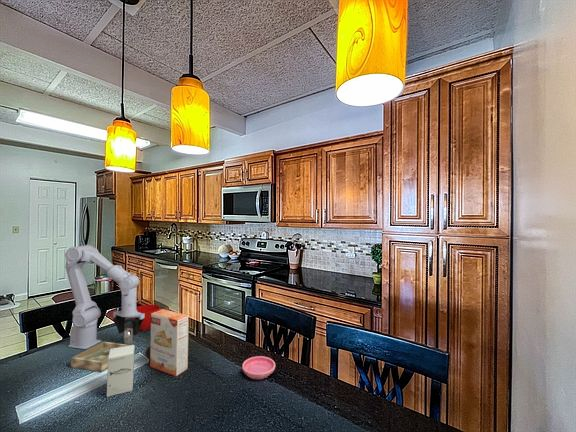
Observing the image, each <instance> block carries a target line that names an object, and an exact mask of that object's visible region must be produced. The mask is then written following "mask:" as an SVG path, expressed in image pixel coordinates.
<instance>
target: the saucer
mask: <svg viewBox="0 0 576 432" xmlns="http://www.w3.org/2000/svg"><path fill="white" fill-rule="evenodd" d="M241 369H242V372H243V373H244V374H245V375H246V376H247V377H248V378H250V379H252V380H264V378H265V379H267V378H268V376H269V377H270V376H271V375H272V374H273V373H274V371H276V370H275V369H276V362H275V361H274V360H273V359H272V358H271V357H267V356H263V355H259V356H258V355H257V356H251V357H249V358H247V359H246V360H244V361H243V362H242V367H241ZM270 374H271V375H270Z"/></svg>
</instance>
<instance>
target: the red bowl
mask: <svg viewBox="0 0 576 432" xmlns="http://www.w3.org/2000/svg"><path fill="white" fill-rule="evenodd" d="M136 310H137V312H140V313H143V314H145V318H144V320H143V322H142V324H141V326H140V329H139V331H141V330H143V331H144V332H145V331H149V330H151V313H154V312H156V311H160V310H161V307H160V305H158V304H145V305H138V306H136ZM134 319H135V318H131V321H132V320H134Z"/></svg>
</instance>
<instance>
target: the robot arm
mask: <svg viewBox="0 0 576 432" xmlns="http://www.w3.org/2000/svg"><path fill="white" fill-rule="evenodd" d="M64 257H65V267H64V268H65V271H66V275H67V278H68V281H69V285H70V288H71V289H70V290H71V292H72V296H73V300H74V302H75V307H74V309H73V310H72V312H71V313H72V323H73V326H72V327H71V329H70V335H69V336H70V337H69V345H68V346H67V348H73V349H81V350H88V349H90V348H92V347H94V346H96V345H98V344H100V343H101V342H102V340H101V339H97V337H98V335H97V334H98V330H97V329H98V320H99V318H100V317H101V314H102V312H101V309H100V307H98V305H97V303H96V302H95V301H93V300H92V298H91V294H90V292H89V288H88V284H87V281H86V278H85V273H84V270H83V266H85V264H86V263H87V262H92V263H93V264H96V265H97V266H98V267H100V268H101V269H103V270H105V271H106V275H107V276H108V277H109V278H110V279H111V280H113V281H114V282H116V284H118V288H119V289H120V290H121V291H120V292H121V310H116V311H113V317H114V318H113V319H112V321H113V322H114V324H115V326H116V328H117V332H118V334H123V333H124V330H125V323H126V319H127V318H131V321H130V323H131V324H132V328H133V335H132V336H137V335H139V333H140V330H139V329H140V326H141V324H142V322H143V320H144V318H145V314H143V313H140V312H137V310H136V307H137V297H138V296H137V294H138V292H137V291H138V289H137V287H138V286H139V284H140V278H139V276H137V275H136V274H131V273H130V272H128V271H126V270H125V269H124V268H123V265H120V264H116V265H114V264H113V263H112V262H110V261H109V260H108V259H107V258H106V257H104V255H102V254H101V253H100V251H99V250H98V248H96V247H94V246H93V245H91V244H86V245H79V246H71V247H69V248H68V249H67V250H66V252H65V253H64ZM132 318H135V319H134V320H132Z"/></svg>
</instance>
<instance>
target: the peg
mask: <svg viewBox="0 0 576 432" xmlns="http://www.w3.org/2000/svg"><path fill="white" fill-rule="evenodd" d="M123 335H124V336H123V344H125V345H133V336H134V335H133V327H127V328H124V332H123Z"/></svg>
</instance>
